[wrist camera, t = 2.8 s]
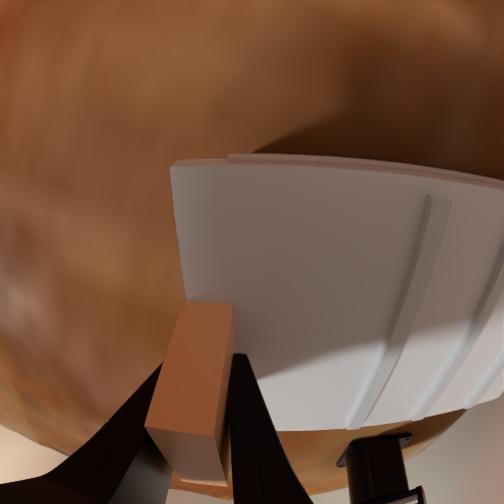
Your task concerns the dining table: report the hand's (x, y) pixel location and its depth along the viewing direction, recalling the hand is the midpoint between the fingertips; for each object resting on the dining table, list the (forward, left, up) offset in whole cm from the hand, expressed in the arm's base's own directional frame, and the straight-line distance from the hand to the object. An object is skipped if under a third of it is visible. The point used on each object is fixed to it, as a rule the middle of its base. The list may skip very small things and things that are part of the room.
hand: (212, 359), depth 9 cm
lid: (0, -7, -2) cm, 8 cm away
